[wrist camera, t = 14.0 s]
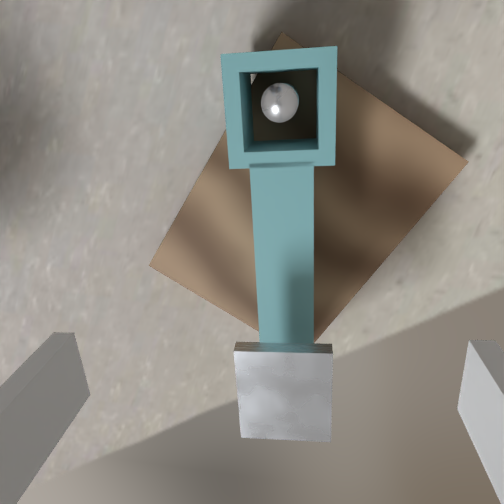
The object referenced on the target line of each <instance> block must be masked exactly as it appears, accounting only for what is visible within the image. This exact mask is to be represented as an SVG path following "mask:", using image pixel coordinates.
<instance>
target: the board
mask: <svg viewBox="0 0 504 504" xmlns="http://www.w3.org/2000/svg"><path fill="white" fill-rule="evenodd" d="M301 48H304V47H303V46H301V45H300V44H298V43H297V42H296V41H294V40H293V39H291V38H290V37H288V36H287V35H285V34H284V33H283V32H281V34H280V35H279V37H278V39H277V41H276V42H275V44H274V46H273V48H272V50H271V51H273V50H287V49H301ZM276 83H288V84H291V85H293V86H294V87H295V88H296V89H297V91H298V93H299V105H298V108H297V111H296V113H295V114H294V116H293V117H292V118H291V119H289V120H288V121H286V122H281V123H277V122H273V121H271V120H269V119H268V118H267V117H266V116H265V115H264V113H263V111H262V108H261V99H262V96H263V93H264V92H265V90H266V89H267V88H268V87H270V86H271V85H273V84H276ZM316 88H317V70H303V71H287V72H272V73H258V74H257V76H256V78H255V79H254V81H253V83H252V85H251V94H252V113H253V132H254V141H265V140H288V139H311V138H316ZM467 163H468V161H467V160H465V159H464V158H462V157H461V156H460V155H458V154H457V153H455V152H454V151H452V150H451V149H449V148H448V147H447V146H445V145H444V144H442V143H441V142H439V141H438V140H437V139H435V138H434V137H432V136H431V135H429V134H428V133H426V132H425V131H424V130H422V129H421V128H419V127H418V126H416V125H415V124H414V123H412V122H411V121H409V120H408V119H406V118H405V117H403V116H402V115H401V114H399V113H398V112H396V111H395V110H393V109H392V108H390V107H389V106H388V105H386V104H385V103H383V102H382V101H380V100H379V99H378V98H376V97H375V96H373V95H372V94H370V93H369V92H367V91H366V90H365V89H363V88H362V87H360V86H359V85H357V84H356V83H355V82H353V81H352V80H350V79H349V78H347V77H346V76H344V75H343V74H342V73H340V72H339V71H337V91H336V144H335V165H334V166H314V342H315V341H316V340H317V339H318V338H319V337H320V335H321V334H322V333H323V332H324V331H325V330H326V328H327V327H328V326H329V325H330V324H331V323H332V321H333V320H334V319H335V318H336V317H337V315H338V314H339V313H340V312H341V311H342V310H343V308H344V307H345V306H346V305H347V304H348V303H349V301H350V300H351V299H352V298H353V297H354V296H355V294H356V293H357V292H358V291H359V290H360V289H361V287H362V286H363V285H364V284H365V283H366V282H367V280H368V279H369V278H370V277H371V276H372V274H373V273H374V272H375V271H376V270H377V269H378V267H379V266H380V265H381V264H382V263H383V262H384V260H385V259H386V258H387V257H388V256H389V255H390V253H391V252H392V251H393V250H394V249H395V248H396V246H397V245H398V244H399V243H400V242H401V241H402V239H403V238H404V237H405V236H406V235H407V233H408V232H409V231H410V230H411V229H412V228H413V226H414V225H415V224H416V223H417V222H418V221H419V219H420V218H421V217H422V216H423V215H424V214H425V212H426V211H427V210H428V209H429V208H430V207H431V205H432V204H433V203H434V202H435V201H436V200H437V198H438V197H439V196H440V195H441V194H442V192H443V191H444V190H445V189H446V188H447V187H448V185H449V184H450V183H451V182H452V181H453V180H454V178H455V177H456V176H457V175H458V174H459V173H460V171H461V170H462V169H463V168H464V167H465V166H466V164H467ZM149 266H150V267H152V268H154V269H155V270H157V271H159V272H160V273H162V274H164V275H165V276H167V277H169V278H170V279H172V280H174V281H175V282H177V283H179V284H180V285H182V286H184V287H185V288H187V289H189V290H190V291H192V292H194V293H195V294H197V295H199V296H200V297H202V298H204V299H205V300H207V301H209V302H210V303H212V304H214V305H215V306H217V307H219V308H221V309H222V310H224V311H226V312H227V313H229V314H231V315H232V316H234V317H236V318H237V319H239V320H241V321H242V322H244V323H246V324H247V325H249V326H251V327H252V328H254V329H256V330H257V331H259V321H258V304H257V287H256V269H255V252H254V235H253V218H252V201H251V184H250V168H246V169H229V158H228V145H227V132H226V130H225V132H224V134H223V136H222V137H221V139H220V141H219V143H218V144H217V146H216V148H215V150H214V152H213V153H212V155H211V157H210V159H209V160H208V162H207V164H206V166H205V167H204V169H203V171H202V173H201V174H200V176H199V178H198V180H197V181H196V183H195V185H194V187H193V188H192V190H191V192H190V194H189V195H188V197H187V199H186V201H185V203H184V204H183V206H182V208H181V210H180V211H179V213H178V215H177V217H176V218H175V220H174V222H173V224H172V225H171V227H170V229H169V231H168V232H167V234H166V236H165V238H164V239H163V241H162V243H161V245H160V246H159V248H158V250H157V252H156V254H155V255H154V257H153V259H152V261H151V262H150V264H149Z"/></svg>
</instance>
